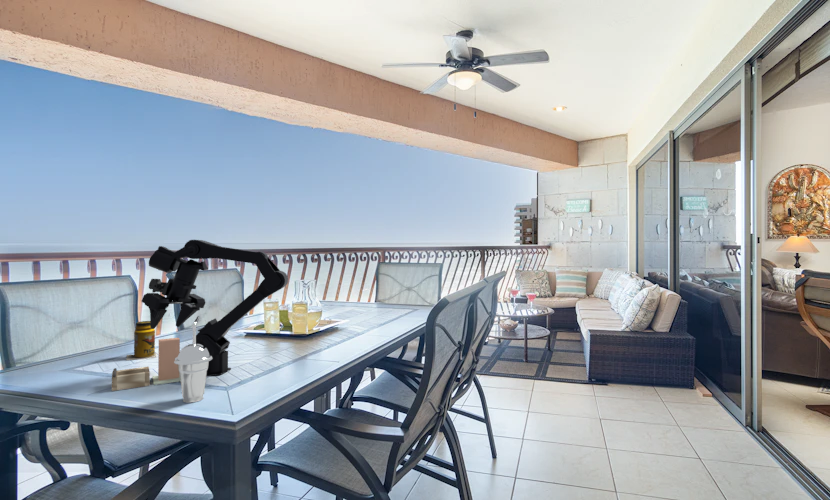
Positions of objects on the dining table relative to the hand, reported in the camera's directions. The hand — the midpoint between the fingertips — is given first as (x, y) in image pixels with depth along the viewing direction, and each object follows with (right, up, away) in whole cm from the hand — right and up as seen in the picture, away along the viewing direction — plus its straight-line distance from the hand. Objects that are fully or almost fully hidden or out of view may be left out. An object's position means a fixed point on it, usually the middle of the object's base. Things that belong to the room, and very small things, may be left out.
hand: (165, 327), depth 126 cm
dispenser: (-3, -14, -11) cm, 18 cm away
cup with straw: (+20, -14, -21) cm, 32 cm away
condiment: (-20, -14, +19) cm, 31 cm away
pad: (+4, -14, -6) cm, 16 cm away
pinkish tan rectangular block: (+4, -13, -6) cm, 15 cm away
